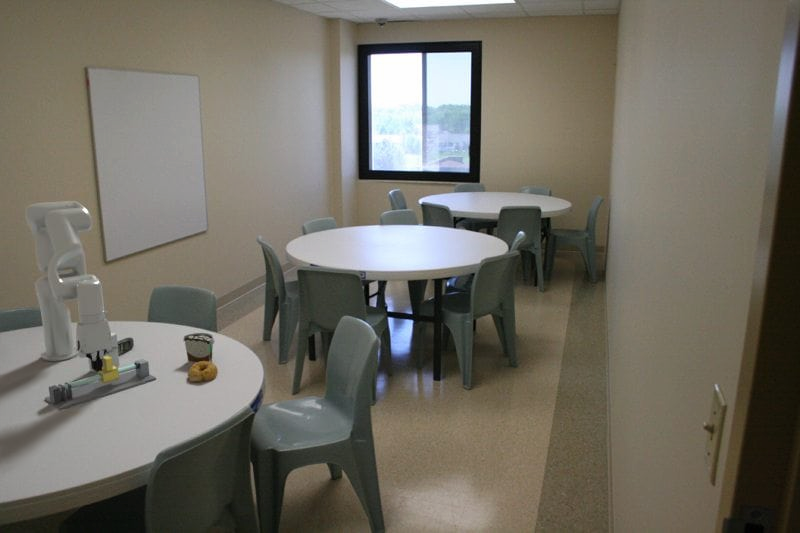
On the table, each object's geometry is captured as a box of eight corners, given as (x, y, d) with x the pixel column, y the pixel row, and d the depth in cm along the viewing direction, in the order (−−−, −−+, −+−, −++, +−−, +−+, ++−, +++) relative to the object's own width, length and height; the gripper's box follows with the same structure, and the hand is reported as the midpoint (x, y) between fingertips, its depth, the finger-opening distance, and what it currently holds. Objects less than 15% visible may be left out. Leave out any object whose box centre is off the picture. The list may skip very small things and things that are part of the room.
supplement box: (107, 373, 227) (104, 339, 224) (89, 371, 229) (85, 338, 226) (120, 365, 234) (117, 332, 231) (102, 363, 236) (99, 331, 233)
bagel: (180, 380, 222) (180, 367, 221) (202, 369, 232) (201, 357, 231) (203, 385, 218) (202, 372, 217) (224, 374, 228) (223, 362, 227)
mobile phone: (109, 348, 238) (136, 334, 252) (102, 347, 239) (130, 334, 253) (110, 361, 240) (137, 346, 253) (104, 360, 240) (131, 345, 254)
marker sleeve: (98, 380, 215) (96, 358, 213) (113, 376, 219) (111, 354, 217) (104, 383, 212) (102, 361, 210) (119, 379, 216) (116, 357, 214)
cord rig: (44, 399, 206) (42, 383, 205) (138, 370, 230) (137, 355, 229) (61, 410, 198) (58, 393, 197) (156, 379, 222) (154, 364, 221)
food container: (222, 359, 241) (221, 334, 239) (212, 365, 235) (211, 339, 233) (195, 355, 245) (193, 330, 242) (184, 361, 239) (182, 335, 237)
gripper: (109, 310, 216) (114, 361, 220) (63, 320, 204) (69, 373, 209) (120, 314, 211) (124, 366, 215) (73, 325, 200) (79, 380, 204)
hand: (97, 370), depth 212 cm, fingers closed
